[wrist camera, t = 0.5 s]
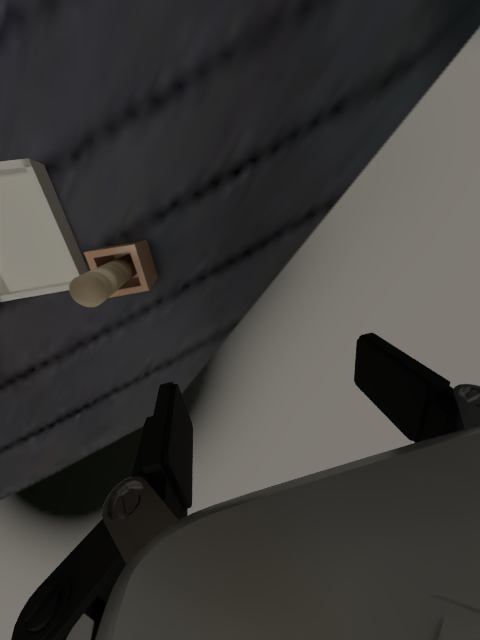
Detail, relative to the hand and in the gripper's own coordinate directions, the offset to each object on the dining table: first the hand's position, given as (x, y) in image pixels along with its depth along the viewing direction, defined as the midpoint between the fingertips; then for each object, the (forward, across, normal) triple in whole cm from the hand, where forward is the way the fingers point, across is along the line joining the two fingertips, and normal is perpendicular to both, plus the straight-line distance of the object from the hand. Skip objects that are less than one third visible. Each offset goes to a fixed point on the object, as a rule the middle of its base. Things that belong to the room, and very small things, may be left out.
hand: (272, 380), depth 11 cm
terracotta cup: (+31, +13, -3) cm, 33 cm away
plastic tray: (+31, +26, -10) cm, 41 cm away
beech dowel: (+30, +13, -3) cm, 32 cm away
